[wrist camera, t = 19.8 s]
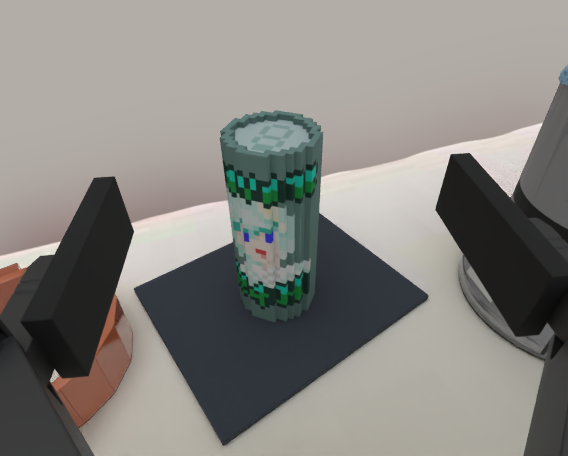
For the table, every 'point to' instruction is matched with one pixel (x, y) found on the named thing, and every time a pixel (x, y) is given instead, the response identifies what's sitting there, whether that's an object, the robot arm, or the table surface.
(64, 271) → the robot arm
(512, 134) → the table surface
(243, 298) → the can
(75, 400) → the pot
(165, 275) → the mat
